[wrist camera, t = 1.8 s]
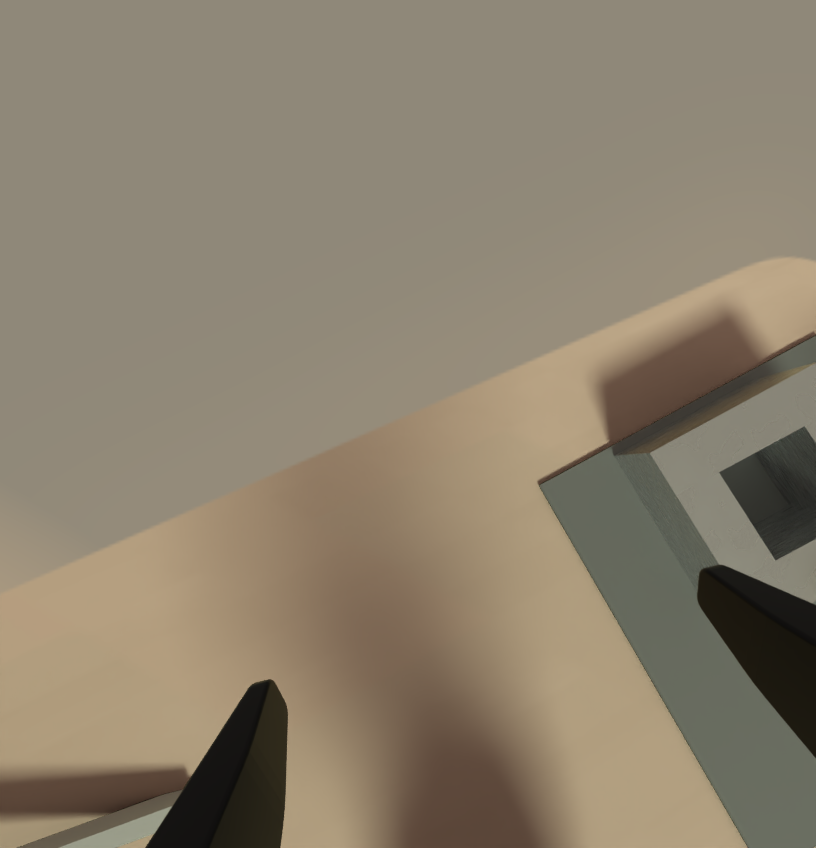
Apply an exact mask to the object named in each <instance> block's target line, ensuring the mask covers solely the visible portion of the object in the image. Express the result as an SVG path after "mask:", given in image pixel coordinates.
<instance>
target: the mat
mask: <svg viewBox="0 0 816 848" xmlns="http://www.w3.org/2000/svg"><path fill="white" fill-rule="evenodd" d="M815 362H816V335H815V336H813V337H811V338H810V339H808V340H806V341H804V342H802V343H800V344H799V345H797V346H795V347H793V348H791V349H789V350H787V351H786V352H784V353H782V354H780V355H778V356H776V357H775V358H773V359H771V360H769V361H767V362H765V363H763V364H762V365H760V366H758V367H756V368H754V369H752V370H751V371H749V372H747V373H745V374H743V375H741V376H740V377H738V378H736V379H734V380H732V381H730V382H728V383H727V384H725V385H723V386H721V387H719V388H717V389H716V390H714V391H712V392H710V393H708V394H706V395H704V396H703V397H701V398H699V399H697V400H695V401H693V402H692V403H690V404H688V405H686V406H684V407H682V408H680V409H679V410H677V411H675V412H673V413H671V414H669V415H668V416H666V417H664V418H662V419H660V420H658V421H657V422H655V423H653V424H651V425H649V426H647V427H645V428H644V429H642V430H640V431H638V432H636V433H634V434H633V435H631V436H629V437H627V438H625V439H623V440H621V441H620V442H618V443H616V444H614V445H612V446H610V447H609V448H607V449H605V450H603V451H601V452H599V453H597V454H596V455H594V456H592V457H590V458H588V459H586V460H585V461H583V462H581V463H579V464H577V465H575V466H574V467H572V468H570V469H568V470H566V471H564V472H562V473H561V474H559V475H557V476H555V477H553V478H551V479H550V480H548V481H546V482H544V483H542V484H540V485H539V487H540V489H541V490H542V492H543V494H544V495H545V497H546V499H547V501H548V502H549V504H550V506H551V508H552V509H553V511H554V513H555V514H556V516H557V518H558V520H559V521H560V523H561V525H562V527H563V528H564V530H565V532H566V534H567V535H568V537H569V539H570V540H571V542H572V544H573V546H574V547H575V549H576V551H577V553H578V554H579V556H580V558H581V560H582V561H583V563H584V565H585V566H586V568H587V570H588V572H589V573H590V575H591V577H592V579H593V580H594V582H595V584H596V585H597V587H598V589H599V591H600V592H601V594H602V596H603V598H604V599H605V601H606V603H607V605H608V606H609V608H610V610H611V611H612V613H613V615H614V617H615V618H616V620H617V622H618V624H619V625H620V627H621V629H622V630H623V632H624V634H625V636H626V637H627V639H628V641H629V643H630V644H631V646H632V648H633V650H634V651H635V653H636V655H637V656H638V658H639V660H640V662H641V663H642V665H643V667H644V669H645V670H646V672H647V674H648V676H649V677H650V679H651V681H652V682H653V684H654V686H655V688H656V689H657V691H658V693H659V695H660V696H661V698H662V700H663V701H664V703H665V705H666V707H667V708H668V710H669V712H670V714H671V715H672V717H673V719H674V721H675V722H676V724H677V726H678V727H679V729H680V731H681V733H682V734H683V736H684V738H685V740H686V741H687V743H688V745H689V746H690V748H691V750H692V752H693V753H694V755H695V757H696V759H697V760H698V762H699V764H700V766H701V767H702V769H703V771H704V772H705V774H706V776H707V778H708V779H709V781H710V783H711V785H712V786H713V788H714V790H715V791H716V793H717V795H718V797H719V798H720V800H721V802H722V804H723V805H724V807H725V809H726V811H727V812H728V814H729V816H730V817H731V819H732V821H733V823H734V824H735V826H736V828H737V830H738V831H739V833H740V835H741V837H742V838H743V840H744V842H745V843H746V845H747V847H748V848H814V847H816V758H815V757H814V756H813V755H812V753H811V752H810V751H809V750H808V749H807V747H806V746H805V745H804V744H803V743H802V741H801V740H800V739H799V738H798V737H797V735H796V734H795V733H794V732H793V731H792V729H791V728H790V727H789V726H788V725H787V723H786V722H785V721H784V720H783V719H782V717H781V716H780V715H779V714H778V713H777V711H776V710H775V709H774V708H773V707H772V705H771V704H770V703H769V702H768V701H767V699H766V698H765V697H764V696H763V694H762V693H761V692H760V691H759V690H758V688H757V687H756V686H755V685H754V683H753V682H752V681H751V679H750V678H749V676H748V675H747V674H746V672H745V671H744V670H743V668H742V667H741V665H740V664H739V662H738V661H737V660H736V658H735V657H734V655H733V654H732V652H731V651H730V650H729V648H728V647H727V645H726V644H725V642H724V641H723V640H722V638H721V637H720V635H719V634H718V632H717V631H716V630H715V628H714V627H713V625H712V624H711V622H710V621H709V620H708V618H707V617H706V615H705V614H704V612H703V611H702V609H701V608H700V606H699V604H698V600H697V591H696V590H695V588H694V587H693V585H692V583H691V582H690V580H689V578H688V577H687V575H686V573H685V572H684V570H683V568H682V567H681V565H680V564H679V562H678V560H677V559H676V557H675V555H674V554H673V552H672V550H671V549H670V547H669V546H668V544H667V542H666V541H665V539H664V537H663V536H662V534H661V532H660V531H659V529H658V527H657V526H656V524H655V523H654V521H653V519H652V518H651V516H650V514H649V513H648V511H647V509H646V508H645V506H644V505H643V503H642V501H641V500H640V498H639V496H638V495H637V493H636V491H635V490H634V488H633V486H632V485H631V483H630V482H629V480H628V478H627V477H626V475H625V473H624V472H623V470H622V468H621V467H620V465H619V464H618V462H617V460H616V459H615V457H614V455H616V454H618V453H619V452H621V451H623V450H625V449H627V448H629V447H630V446H632V445H634V444H636V443H638V442H640V441H642V440H643V439H645V438H647V437H649V436H651V435H653V434H654V433H656V432H658V431H660V430H662V429H664V428H666V427H667V426H669V425H671V424H673V423H675V422H677V421H678V420H680V419H682V418H684V417H686V416H688V415H690V414H691V413H693V412H695V411H697V410H699V409H701V408H702V407H704V406H706V405H708V404H710V403H712V402H714V401H715V400H717V399H719V398H721V397H723V396H725V395H726V394H728V393H730V392H732V391H734V390H736V389H737V388H739V387H741V386H743V385H745V384H747V383H749V382H750V381H752V380H755V379H758V378H762V377H765V376H769V375H772V374H776V373H780V372H783V371H787V370H790V369H794V368H797V367H801V366H805V365H808V364H812V363H815ZM719 473H720V475H721V477H722V478H723V480H724V481H725V483H726V484H727V486H728V487H729V489H730V491H731V492H732V494H733V495H734V497H735V498H736V500H737V501H738V503H739V505H740V506H741V508H742V509H743V511H744V512H745V514H746V515H747V517H748V519H749V520H750V522H751V523H752V525H753V524H755V523H757V522H759V521H761V520H762V519H764V518H766V517H768V516H770V515H772V514H774V513H775V512H777V511H779V510H781V509H783V508H785V507H787V506H788V503H787V502H786V500H785V499H784V497H783V496H782V494H781V493H780V491H779V490H778V488H777V487H776V485H775V484H774V482H773V481H772V479H771V478H770V476H769V475H768V473H767V471H766V470H765V468H764V467H763V465H762V464H761V462H760V461H759V459H758V458H757V456H756V455H755V453H754V454H752V455H750V456H748V457H747V458H745V459H743V460H741V461H739V462H737V463H735V464H734V465H732V466H730V467H728V468H726V469H724V470H722V471H721V472H719ZM813 604H815V605H816V601H815V602H813Z"/></svg>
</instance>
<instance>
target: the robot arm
mask: <svg viewBox="0 0 816 848" xmlns="http://www.w3.org/2000/svg"><path fill="white" fill-rule="evenodd" d="M697 600H698V604H699V606H700V608H701V609H702V611H703V612H704V614H705V615H706V617H707V618H708V620H709V621H710V622H711V624H712V625H713V627H714V628H715V630H716V631H717V632H718V634H719V635H720V637H721V638H722V640H723V641H724V642H725V644H726V645H727V647H728V648H729V650H730V651H731V652H732V654H733V655H734V657H735V658H736V660H737V661H738V662H739V664H740V665H741V667H742V668H743V670H744V671H745V672H746V674H747V675H748V676H749V678H750V679H751V681H752V682H753V683H754V685H755V686H756V687H757V688H758V690H759V691H760V692H761V693H762V694H763V696H764V697H765V698H766V699H767V701H768V702H769V703H770V704H771V705H772V707H773V708H774V709H775V710H776V711H777V713H778V714H779V715H780V716H781V717H782V719H783V720H784V721H785V722H786V723H787V725H788V726H789V727H790V728H791V729H792V731H793V732H794V733H795V734H796V735H797V737H798V738H799V739H800V740H801V741H802V743H803V744H804V745H805V746H806V747H807V749H808V750H809V751H810V752H811V753H812V755H813V756H814V757H815V758H816V605H815V604H813V603H810V602H808V601H806V600H804V599H801V598H799V597H797V596H794V595H792V594H790V593H787V592H785V591H783V590H781V589H778V588H776V587H774V586H771V585H769V584H767V583H764V582H762V581H760V580H758V579H755V578H753V577H751V576H748V575H746V574H744V573H741V572H739V571H737V570H734V569H732V568H730V567H728V566H725V565H713V566H710V567H706V568H703V569H701V570H700V572H699V578H698V588H697ZM287 727H288V711H287V706H286V703H285V701H284V699H283V697H282V695H281V693H280V691H279V689H278V687H277V685H276V684H275V682H274V681H273V680H271V679H268V680H264V681H260V682H256V683H254V684H252V685H251V686H250V687H249V688H248V690H247V691H246V693H245V694H244V696H243V697H242V699H241V701H240V702H239V704H238V705H237V707H236V708H235V710H234V711H233V713H232V714H231V716H230V718H229V719H228V721H227V722H226V724H225V725H224V727H223V728H222V730H221V731H220V733H219V735H218V736H217V738H216V739H215V741H214V742H213V744H212V745H211V747H210V748H209V750H208V752H207V753H206V755H205V756H204V758H203V759H202V761H201V762H200V764H199V765H198V767H197V769H196V770H195V772H194V773H193V775H192V776H191V778H190V779H189V781H188V782H187V784H186V786H185V787H184V789H183V790H182V792H181V793H180V795H179V796H178V798H177V799H176V801H175V803H174V804H173V806H172V807H171V809H170V810H169V812H168V813H167V815H166V817H165V818H164V820H163V821H162V823H161V824H160V826H159V827H158V829H157V830H156V832H155V834H154V835H153V837H152V838H151V840H150V841H149V843H148V844H147V846H146V847H145V848H280V846H281V838H282V830H283V821H284V810H285V794H286V761H287Z"/></svg>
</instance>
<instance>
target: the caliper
mask: <svg viewBox="0 0 816 848" xmlns="http://www.w3.org/2000/svg"><path fill="white" fill-rule="evenodd" d="M181 792H182V790H180V791H176V792H172V793H168V794H164V795H161V796H158V797H155V798H152V799H150V800H147V801H144V802H141V803H139V804H136V805H133V806H130V807H128V808H125V809H122V810H119V811H117V812H114V813H111V814H108V815H106V816H103V817H100V818H98V819H95V820H92V821H89V822H87V823H84V824H81V825H78V826H76V827H73V828H70V829H67V830H65V831H62V832H59V833H56V834H53V835H51V836H48V837H45V838H42V839H39V840H37V841H34V842H31V843H28V844H26V845H23V846H20V847H17V848H117V847H120V846H122V845H125V844H128V843H130V842H133V841H136V840H138V839H141V838H144V837H146V836H149V835H152V834H154V833H155V832H156V830H157V829H158V827H159V826H160V824H161V823H162V821H163V820H164V818H165V817H166V815H167V813H168V812H169V810H170V809H171V807H172V806H173V804H174V803H175V801H176V799H177V798H178V796H179V795H180V793H181Z"/></svg>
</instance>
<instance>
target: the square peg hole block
mask: <svg viewBox="0 0 816 848" xmlns="http://www.w3.org/2000/svg"><path fill="white" fill-rule="evenodd" d="M754 453H755V455H756V456H757V458H758V459H759V461H760V462H761V464H762V465H763V467H764V468H765V470H766V471H767V473H768V475H769V476H770V478H771V479H772V481H773V482H774V484H775V485H776V487H777V488H778V490H779V491H780V493H781V494H782V496H783V497H784V499H785V500H786V502H787V503H788V506H787V507H785V508H783V509H781V510H779V511H777V512H775V513H774V514H772V515H770V516H768V517H766V518H764V519H762V520H761V521H759V522H757V523H755V524H753V525H752V523H751V522H750V520H749V519H748V517H747V515H746V514H745V512H744V511H743V509H742V508H741V506H740V505H739V503H738V501H737V500H736V498H735V497H734V495H733V494H732V492H731V491H730V489H729V487H728V486H727V484H726V483H725V481H724V480H723V478H722V477H721V475H720V473H719V472H721V471H722V470H724V469H726V468H728V467H730V466H732V465H734V464H735V463H737V462H739V461H741V460H743V459H745V458H747V457H748V456H750V455H752V454H754ZM614 457H615V459H616V460H617V462H618V464H619V465H620V467H621V468H622V470H623V472H624V473H625V475H626V477H627V478H628V480H629V482H630V483H631V485H632V486H633V488H634V490H635V491H636V493H637V495H638V496H639V498H640V500H641V501H642V503H643V505H644V506H645V508H646V509H647V511H648V513H649V514H650V516H651V518H652V519H653V521H654V523H655V524H656V526H657V527H658V529H659V531H660V532H661V534H662V536H663V537H664V539H665V541H666V542H667V544H668V546H669V547H670V549H671V550H672V552H673V554H674V555H675V557H676V559H677V560H678V562H679V564H680V565H681V567H682V568H683V570H684V572H685V573H686V575H687V577H688V578H689V580H690V582H691V583H692V585H693V587H694V588H695V590H696V591H697V588H698V578H699V572H700V570H701V569H703V568H706V567H710V566H713V565H725V566H728V567H730V568H732V569H734V570H737V571H739V572H741V573H744V574H746V575H748V576H751V577H753V578H755V579H758V580H760V581H762V582H764V583H767V584H769V585H771V586H774V587H776V588H778V589H781V590H783V591H785V592H787V593H790V594H792V595H794V596H797V597H799V598H801V599H804V600H806V601H808V602H810V603H813V602H815V601H816V362H815V363H812V364H808V365H805V366H801V367H797V368H794V369H790V370H787V371H783V372H780V373H776V374H772V375H769V376H765V377H762V378H758V379H755V380H752V381H750V382H749V383H747V384H745V385H743V386H741V387H739V388H737V389H736V390H734V391H732V392H730V393H728V394H726V395H725V396H723V397H721V398H719V399H717V400H715V401H714V402H712V403H710V404H708V405H706V406H704V407H702V408H701V409H699V410H697V411H695V412H693V413H691V414H690V415H688V416H686V417H684V418H682V419H680V420H678V421H677V422H675V423H673V424H671V425H669V426H667V427H666V428H664V429H662V430H660V431H658V432H656V433H654V434H653V435H651V436H649V437H647V438H645V439H643V440H642V441H640V442H638V443H636V444H634V445H632V446H630V447H629V448H627V449H625V450H623V451H621V452H619V453H618V454H616V455H614Z"/></svg>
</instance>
